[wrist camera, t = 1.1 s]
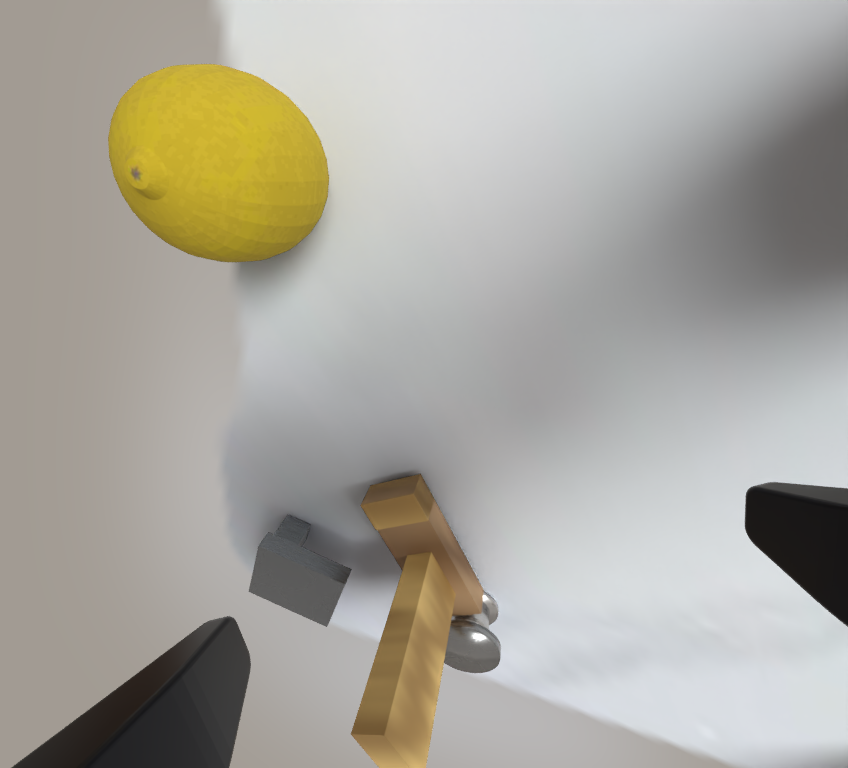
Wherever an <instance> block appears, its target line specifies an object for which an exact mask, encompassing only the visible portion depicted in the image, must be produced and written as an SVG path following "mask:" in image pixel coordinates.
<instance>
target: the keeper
mask: <svg viewBox="0 0 848 768" xmlns="http://www.w3.org/2000/svg"><path fill="white" fill-rule="evenodd" d="M309 528H310V524H308V523H306V522H303V521H301V520H299V519H297V518H294V517H292V516H290V515H287V517H286V518H285V520H284V521H283V523H282V524H281V525H280V527H279V528H278V530H277V531H276V533H275V534H272V533H270V532H268V534H267V535H266V536H265V538H264V539H263V541H262V542H261V543H260V545H259V547H258V551H257V556H256V561H255V565H254V570H253V574H252V579H251V584H250V589H249V592H251V593H253V594H255V595H257V596H260V597H262V598H264V599H267V600H269V601H271V602H273V603H275V604H277V605H280V606H282V607H284V608H286V609H288V610H291V611H293V612H295V613H297V614H299V615H302V616H304V617H306V618H308V619H310V620H313V621H315V622H317V623H319V624H322V625H324V626H326V627H327V626H328V623H329V621H330V619H331V617H332V614H333V612H334V610H335V607H336V605H337V603H338V600H339V598H340V595H341V593H342V591H343V588H344V586H345V584H346V581H347V579H348V577H349V574H350V572H351V570H352V569H350V568H348V567H345V566H343V565H341V564H339V563H337V562H334V561H332V560H330V559H328V558H325V557H323V556H321V555H319V554H316V553H314V552H312V551H310V550H307V549H305V548H303V547H302V546H303V544H304V542H305V541H306V538H307V535H308V531H309Z"/></svg>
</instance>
